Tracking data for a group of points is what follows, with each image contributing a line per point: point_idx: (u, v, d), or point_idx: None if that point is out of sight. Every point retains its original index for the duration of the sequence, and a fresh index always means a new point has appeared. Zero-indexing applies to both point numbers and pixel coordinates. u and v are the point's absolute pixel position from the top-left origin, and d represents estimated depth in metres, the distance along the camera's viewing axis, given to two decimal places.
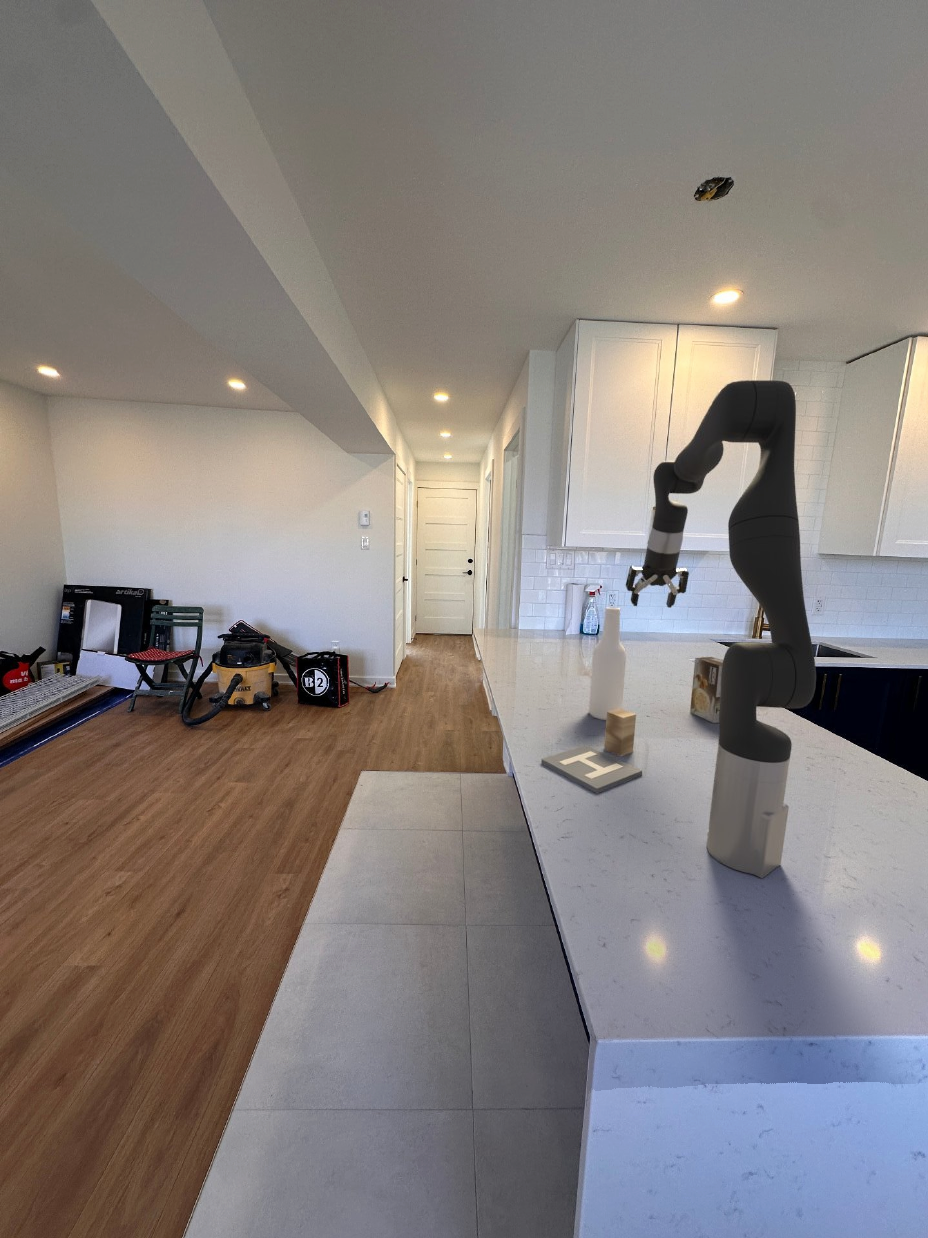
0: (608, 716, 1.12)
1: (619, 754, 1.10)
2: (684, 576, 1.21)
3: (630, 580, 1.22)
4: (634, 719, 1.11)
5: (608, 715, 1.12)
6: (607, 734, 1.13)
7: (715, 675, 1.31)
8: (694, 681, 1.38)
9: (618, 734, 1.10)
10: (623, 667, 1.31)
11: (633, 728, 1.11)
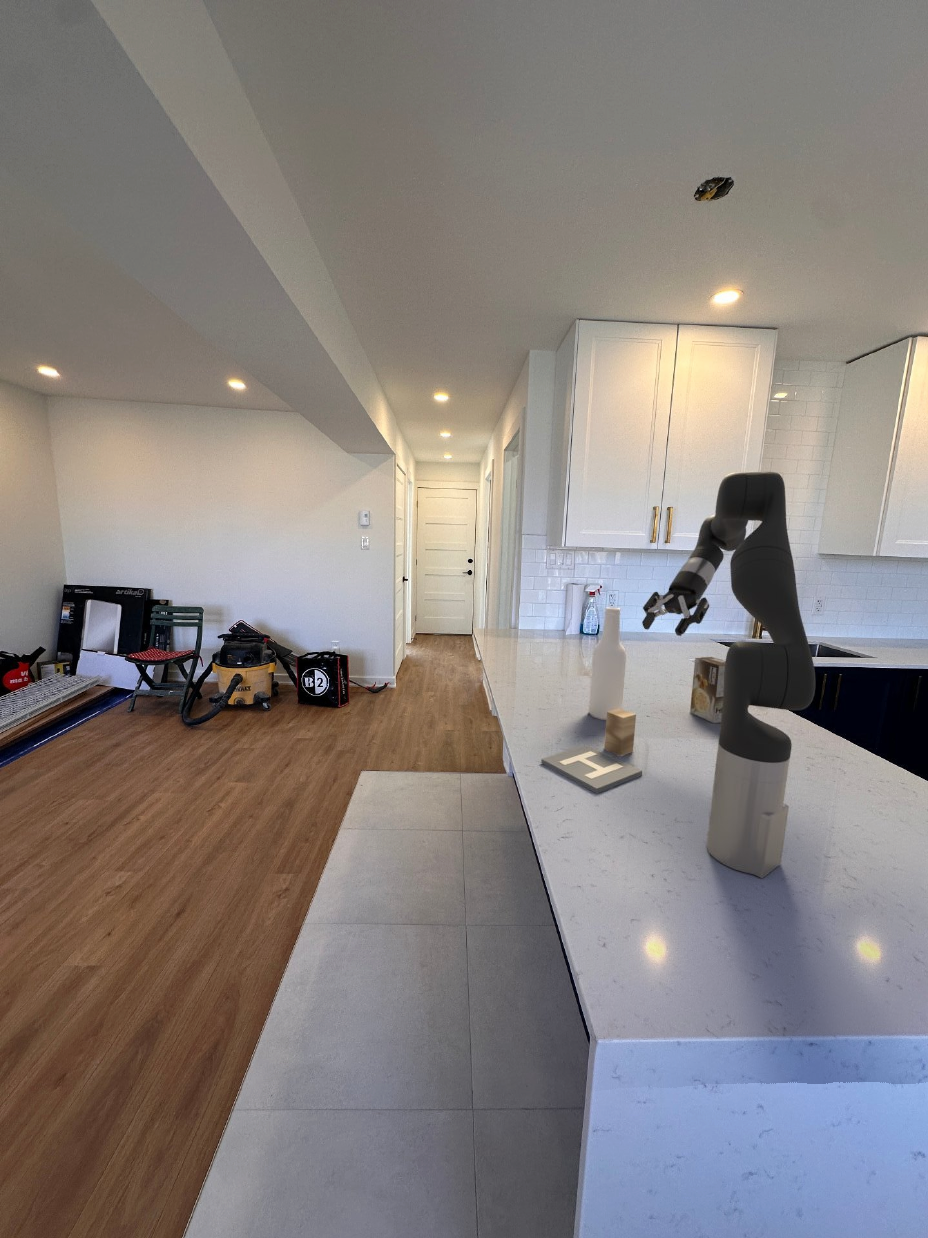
0: (608, 716, 1.12)
1: (619, 754, 1.10)
2: (700, 601, 1.13)
3: (649, 600, 1.23)
4: (634, 719, 1.11)
5: (608, 715, 1.12)
6: (607, 734, 1.13)
7: (715, 675, 1.31)
8: (694, 681, 1.38)
9: (618, 734, 1.10)
10: (623, 667, 1.31)
11: (633, 728, 1.11)
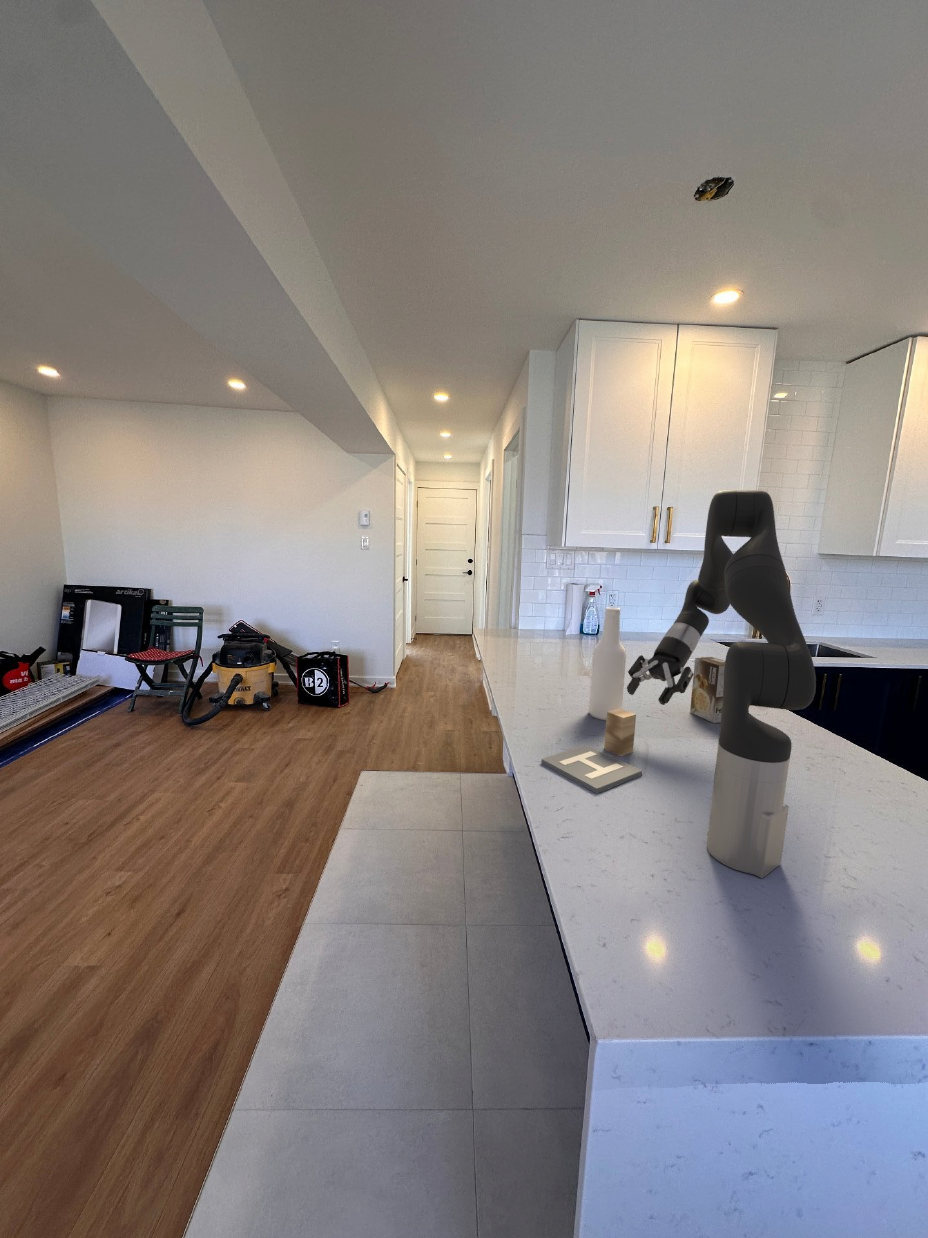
0: (608, 716, 1.12)
1: (619, 754, 1.10)
2: (684, 670, 1.13)
3: (634, 664, 1.23)
4: (634, 719, 1.11)
5: (608, 715, 1.12)
6: (607, 734, 1.13)
7: (715, 675, 1.31)
8: (694, 681, 1.38)
9: (618, 734, 1.10)
10: (623, 667, 1.31)
11: (633, 728, 1.11)
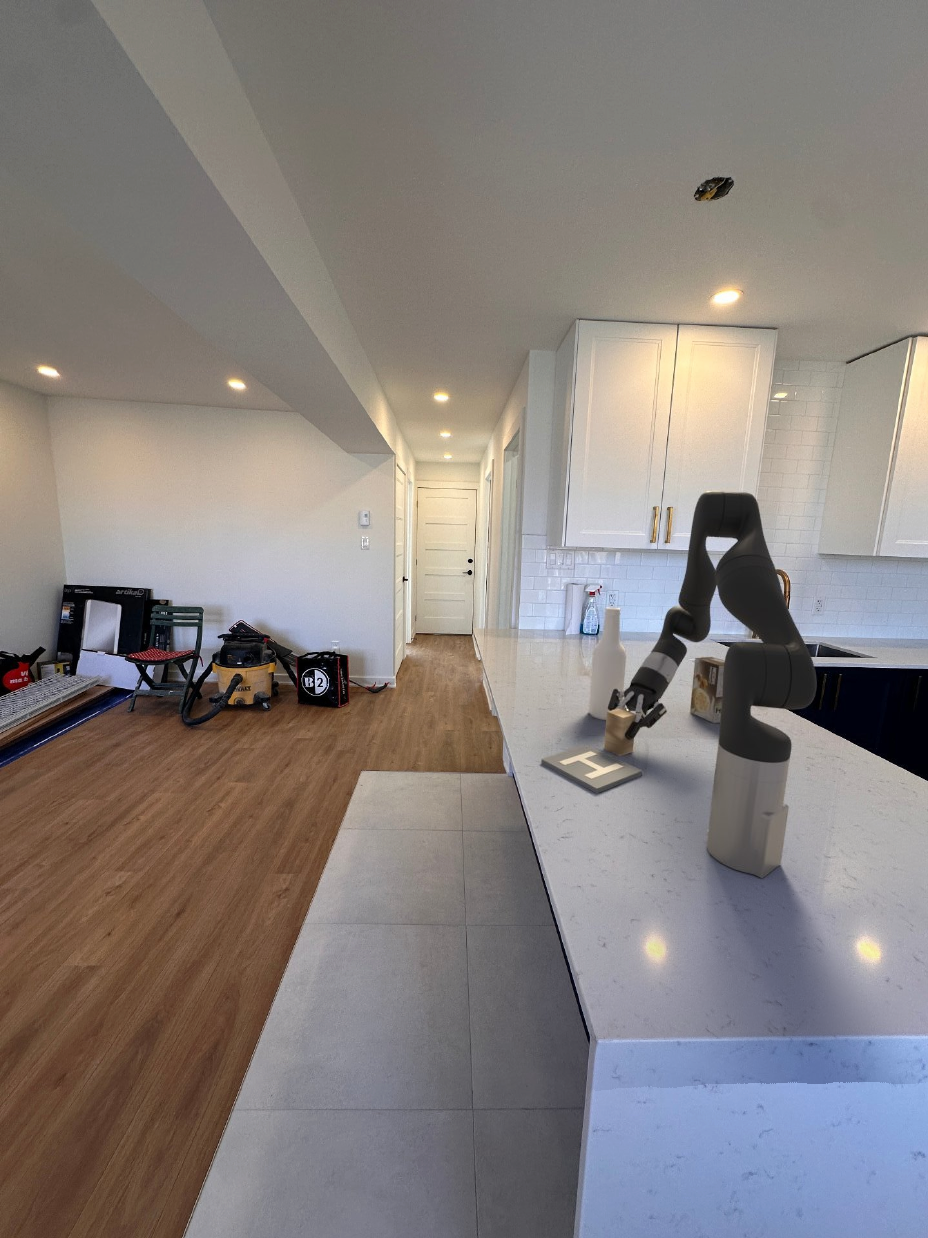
0: (608, 716, 1.12)
1: (619, 754, 1.10)
2: (656, 707, 1.10)
3: (611, 699, 1.18)
4: (634, 718, 1.11)
5: (607, 715, 1.12)
6: (607, 734, 1.13)
7: (715, 675, 1.31)
8: (694, 681, 1.38)
9: (618, 734, 1.10)
10: (623, 667, 1.31)
11: None
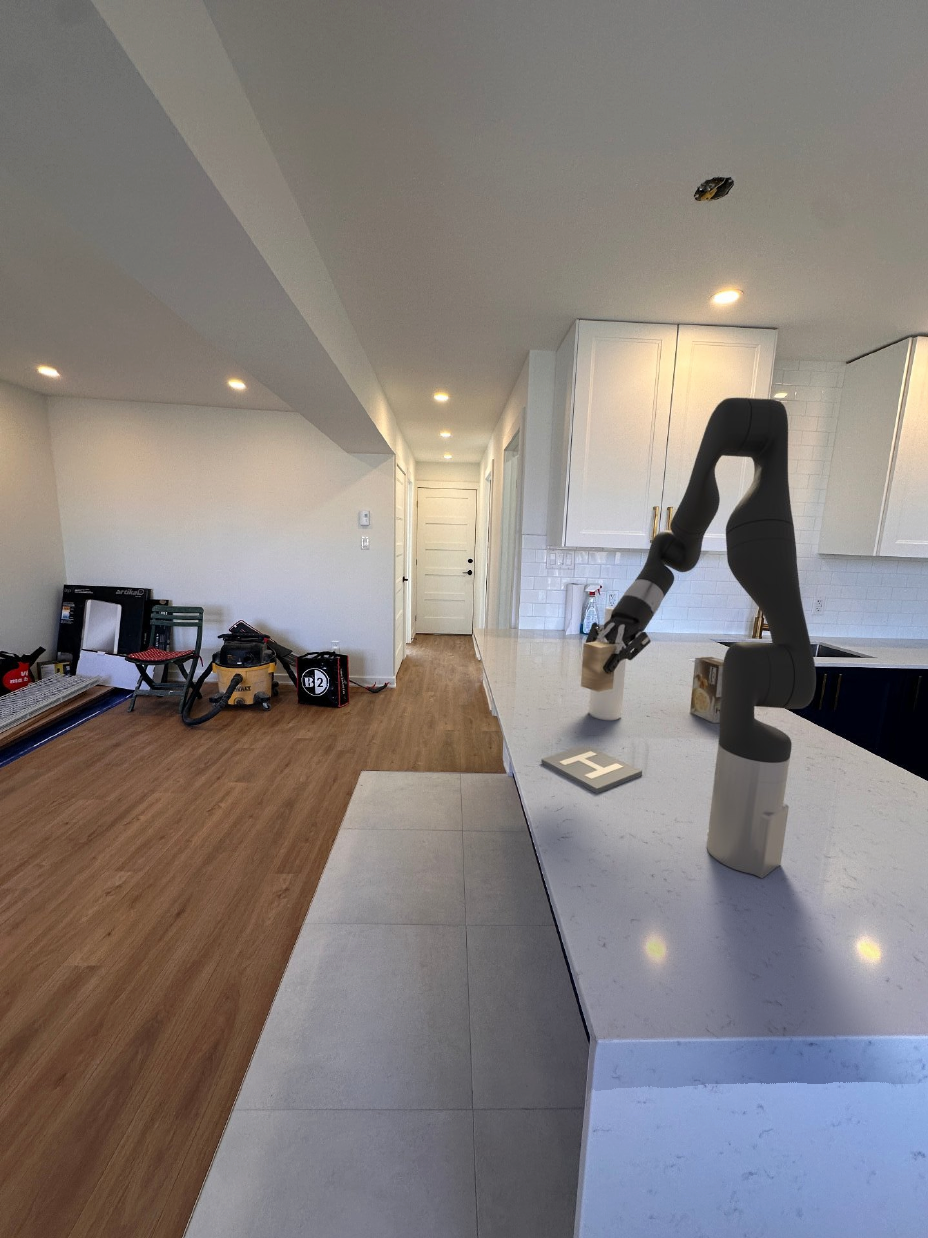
0: (585, 648, 0.99)
1: (597, 690, 0.98)
2: (639, 636, 0.97)
3: (589, 633, 1.06)
4: None
5: (584, 647, 0.99)
6: (584, 669, 1.00)
7: (715, 675, 1.31)
8: (694, 681, 1.38)
9: (595, 667, 0.97)
10: (623, 667, 1.31)
11: None
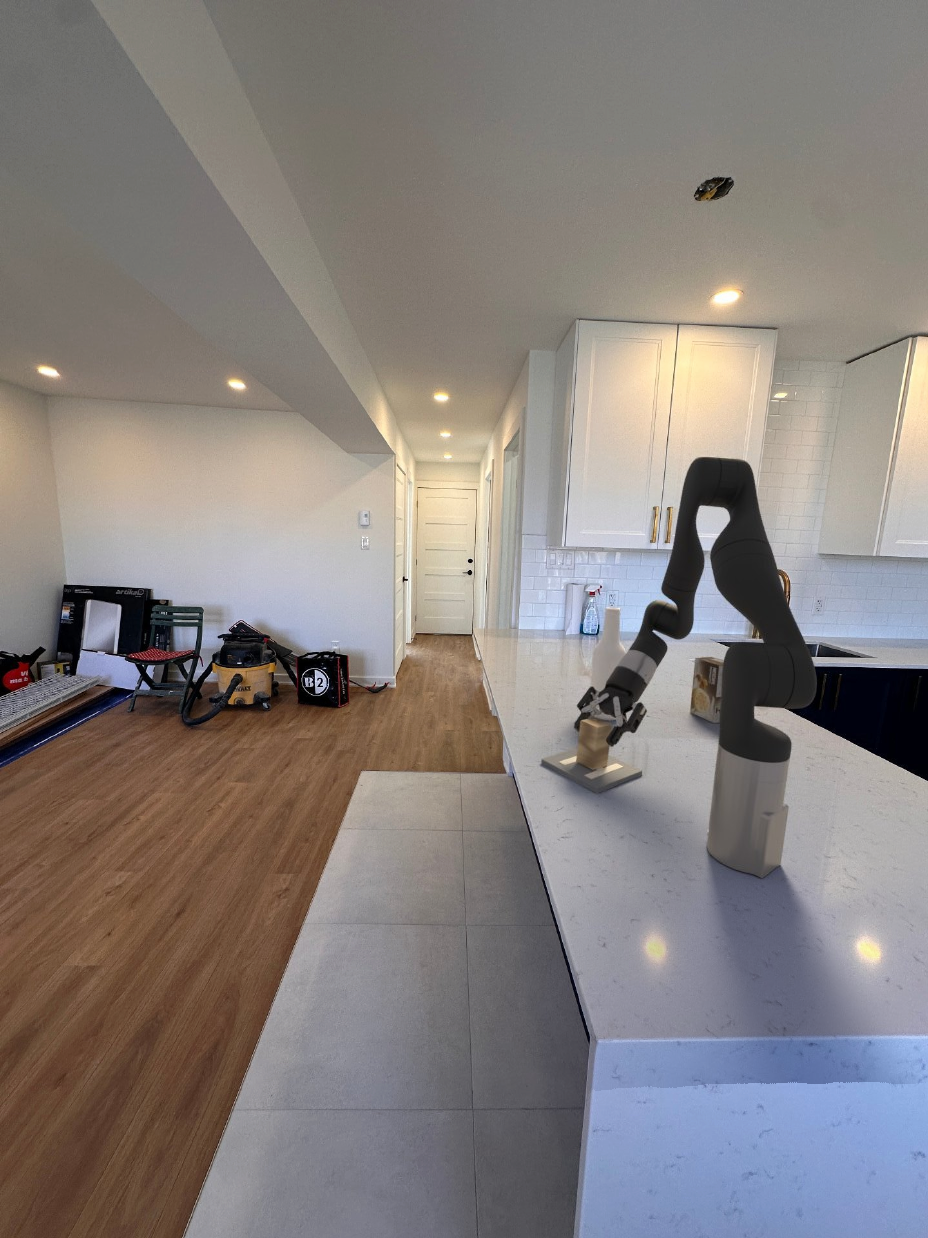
0: (581, 725, 1.02)
1: (592, 767, 1.00)
2: (636, 707, 0.99)
3: (584, 696, 1.09)
4: (610, 729, 1.02)
5: (581, 724, 1.02)
6: (580, 745, 1.03)
7: (715, 675, 1.31)
8: (694, 681, 1.38)
9: (591, 745, 1.00)
10: None
11: None
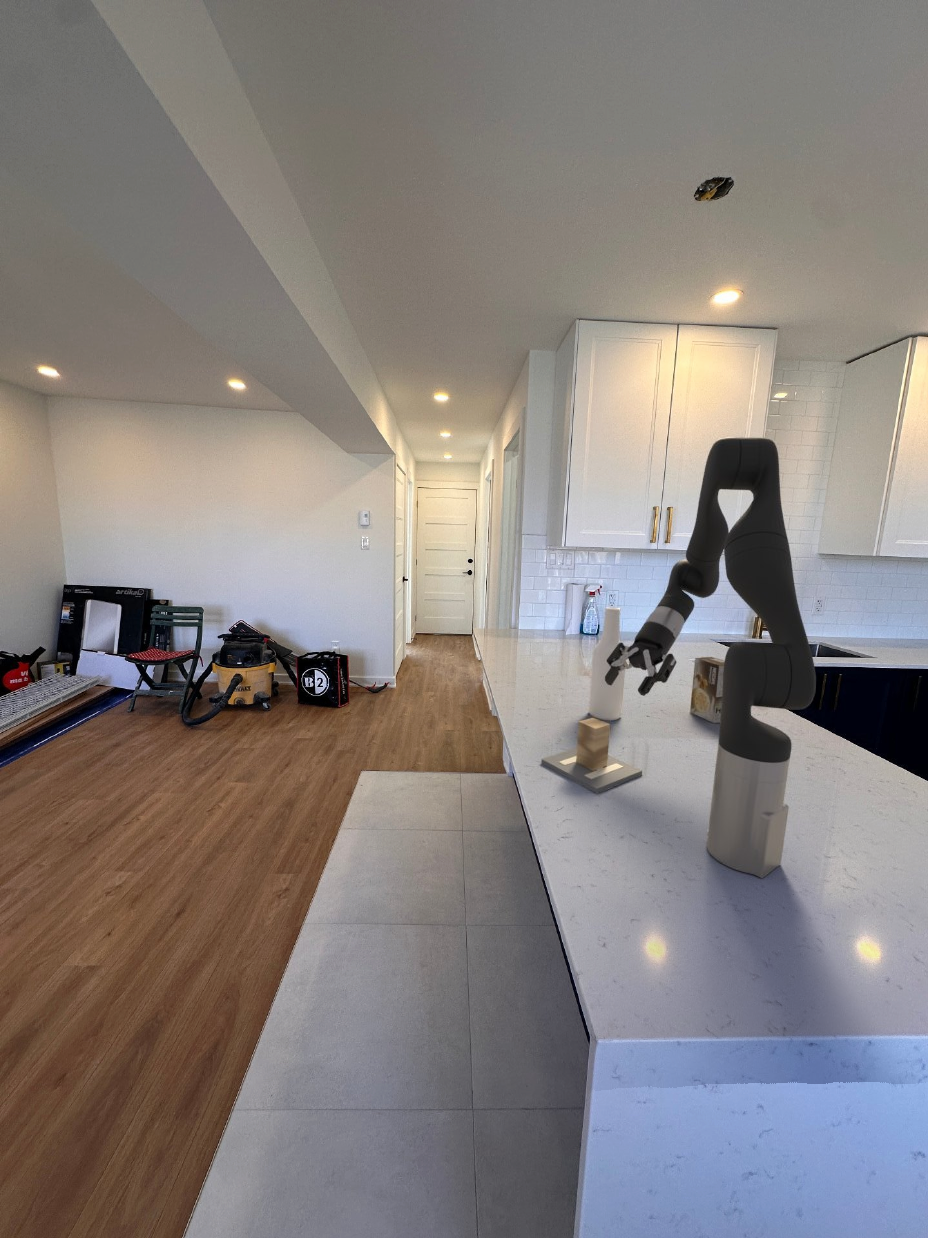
0: (580, 726, 1.02)
1: (591, 768, 1.00)
2: (666, 658, 1.03)
3: (613, 652, 1.13)
4: (608, 729, 1.01)
5: (579, 726, 1.02)
6: (579, 746, 1.03)
7: (715, 675, 1.31)
8: (694, 681, 1.38)
9: (590, 746, 1.00)
10: None
11: (607, 739, 1.02)
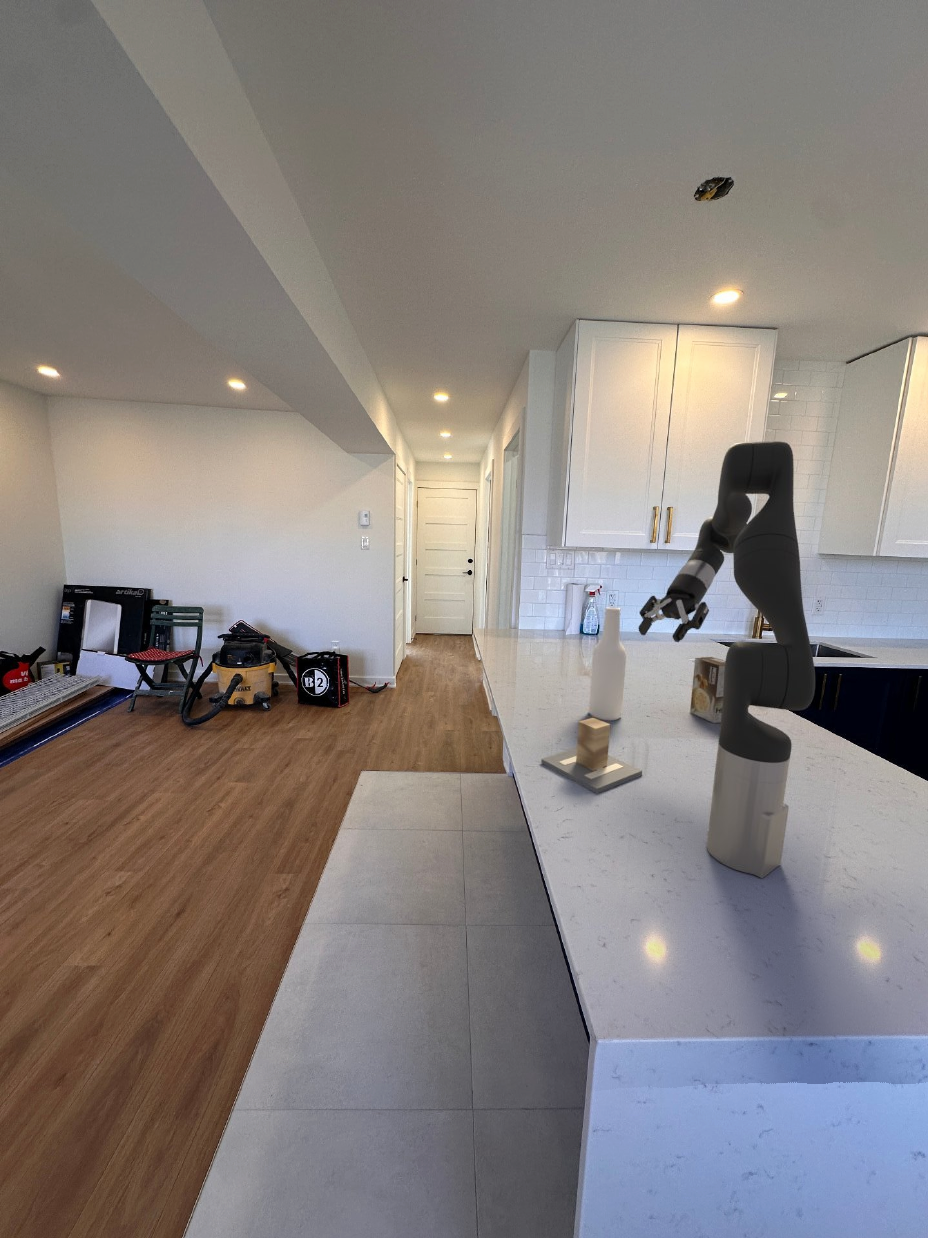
0: (580, 726, 1.02)
1: (591, 768, 1.00)
2: (700, 606, 1.07)
3: (645, 604, 1.17)
4: (608, 729, 1.01)
5: (579, 726, 1.02)
6: (579, 746, 1.03)
7: (715, 675, 1.31)
8: (694, 681, 1.38)
9: (590, 746, 1.00)
10: (623, 667, 1.31)
11: (607, 739, 1.02)
